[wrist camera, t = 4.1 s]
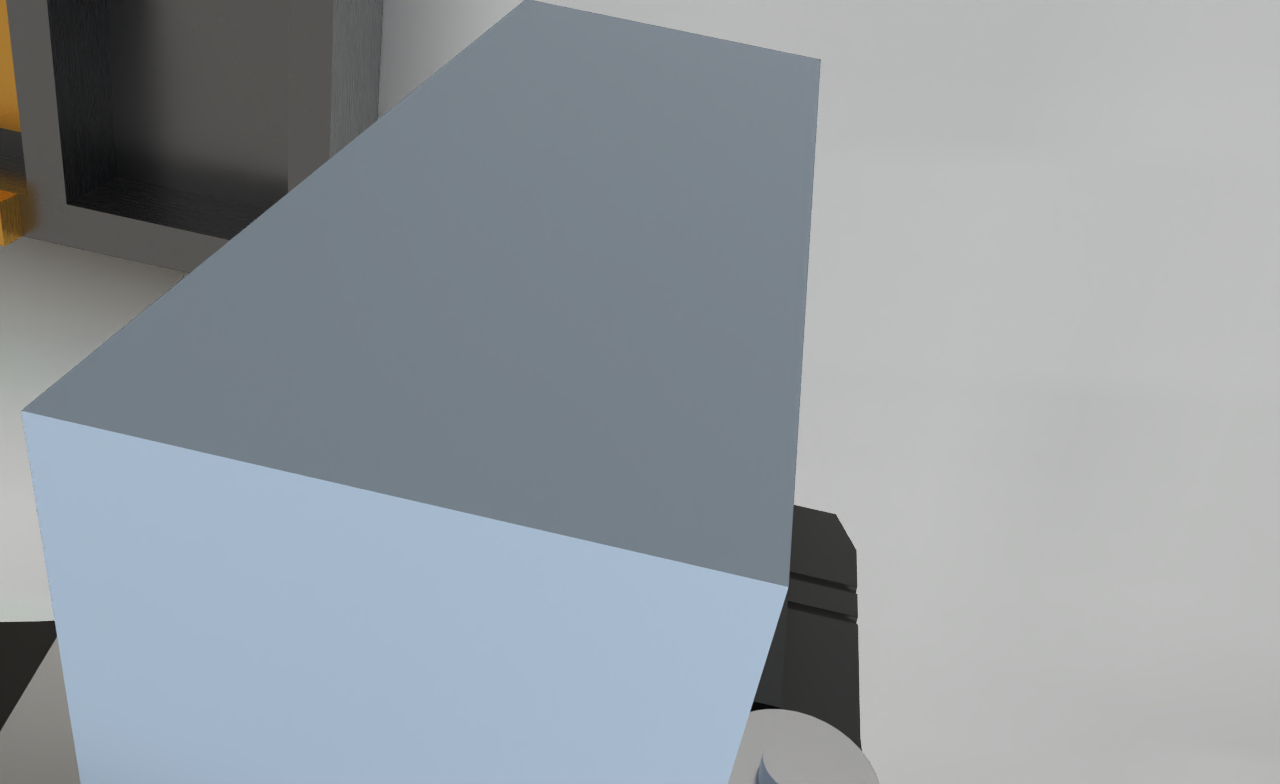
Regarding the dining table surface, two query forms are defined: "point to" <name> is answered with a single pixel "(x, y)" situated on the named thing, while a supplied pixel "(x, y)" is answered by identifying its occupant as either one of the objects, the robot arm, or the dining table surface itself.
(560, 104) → the panel
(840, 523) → the robot arm
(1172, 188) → the dining table surface
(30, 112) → the rack
